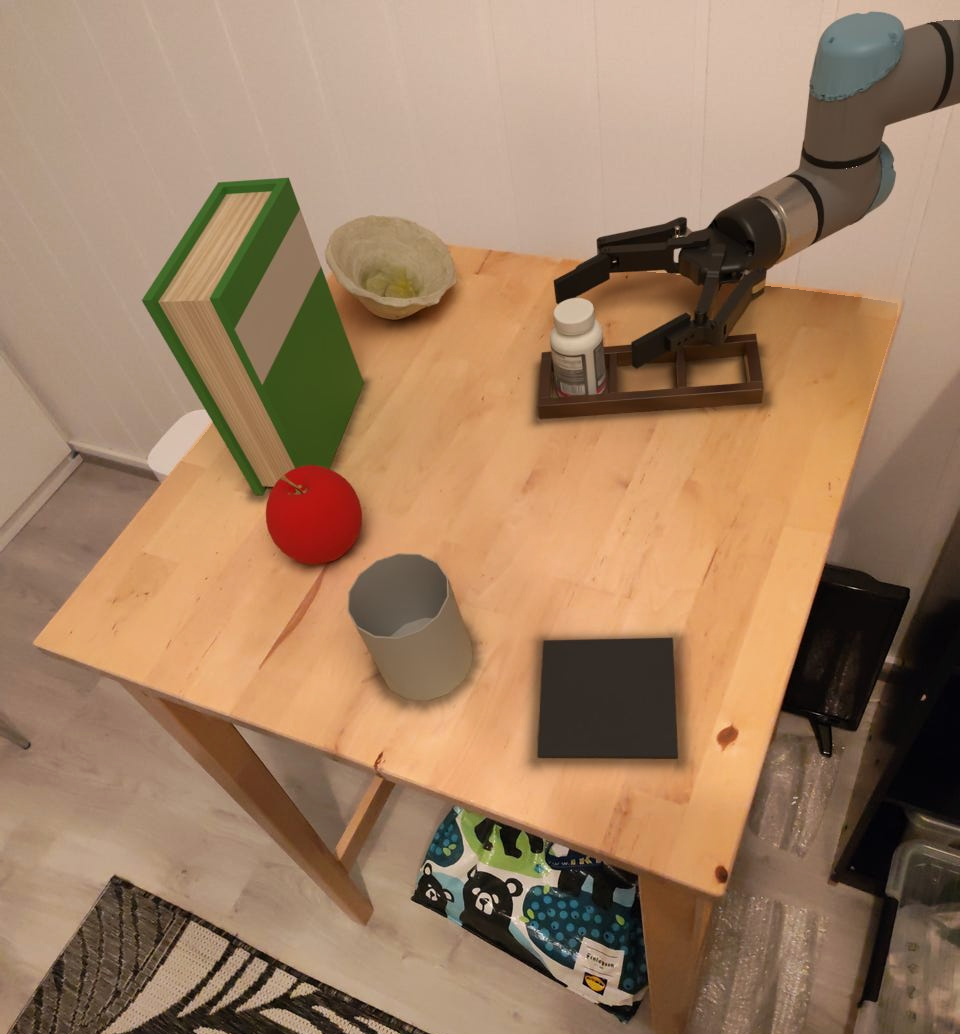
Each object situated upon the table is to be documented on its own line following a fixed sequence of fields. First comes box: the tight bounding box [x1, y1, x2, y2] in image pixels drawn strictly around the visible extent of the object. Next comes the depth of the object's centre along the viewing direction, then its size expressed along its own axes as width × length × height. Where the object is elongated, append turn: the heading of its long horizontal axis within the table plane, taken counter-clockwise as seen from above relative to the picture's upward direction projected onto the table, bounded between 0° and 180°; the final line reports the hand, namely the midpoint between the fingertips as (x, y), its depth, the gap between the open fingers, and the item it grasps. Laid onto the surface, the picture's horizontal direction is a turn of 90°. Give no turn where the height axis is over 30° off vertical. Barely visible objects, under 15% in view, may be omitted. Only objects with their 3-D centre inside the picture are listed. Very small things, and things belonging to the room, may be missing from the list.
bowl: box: [324, 214, 458, 321], centre depth 99 cm, size 15×14×10 cm
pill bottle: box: [549, 297, 607, 397], centre depth 86 cm, size 5×5×10 cm
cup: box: [346, 552, 473, 702], centre depth 70 cm, size 8×8×10 cm
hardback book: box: [141, 177, 365, 496], centre depth 83 cm, size 18×7×24 cm, turn 168°
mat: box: [536, 637, 679, 760], centre depth 69 cm, size 11×11×1 cm
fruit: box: [265, 465, 363, 565], centre depth 80 cm, size 9×9×10 cm
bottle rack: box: [537, 333, 765, 420], centre depth 88 cm, size 23×9×2 cm, turn 85°
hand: (593, 323), depth 85 cm, fingers open, 13 cm apart
